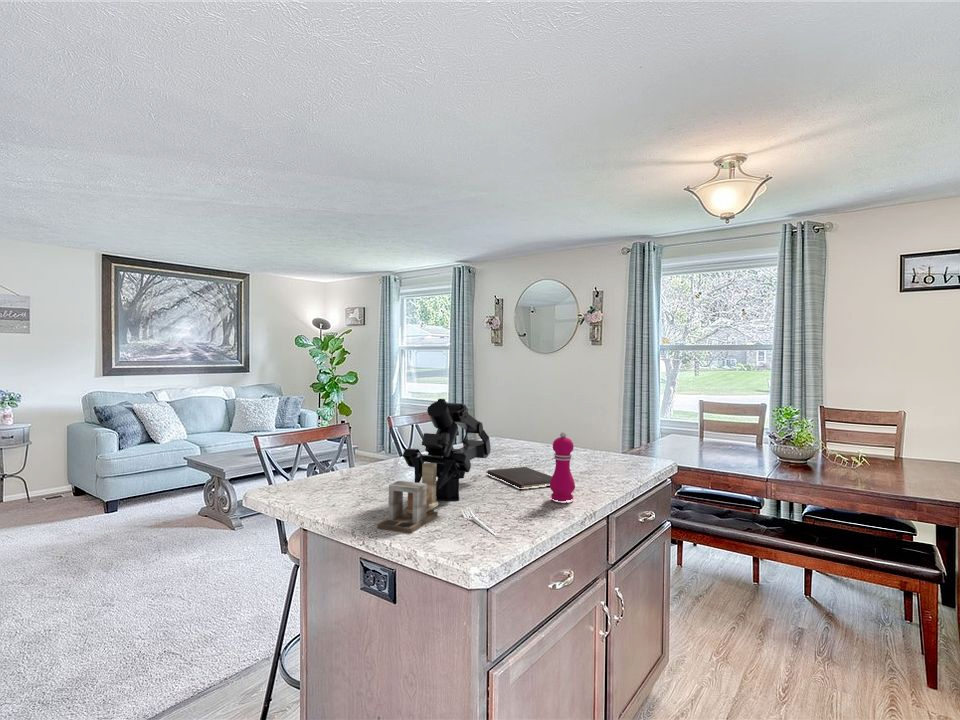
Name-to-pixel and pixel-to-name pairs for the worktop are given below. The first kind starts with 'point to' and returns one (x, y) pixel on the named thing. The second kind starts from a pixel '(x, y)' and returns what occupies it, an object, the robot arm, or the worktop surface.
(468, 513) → the fork
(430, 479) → the beige orange stepped block
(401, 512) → the tunnel
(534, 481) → the hardcover book
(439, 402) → the robot arm
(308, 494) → the worktop surface
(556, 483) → the pepper mill
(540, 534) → the worktop surface
